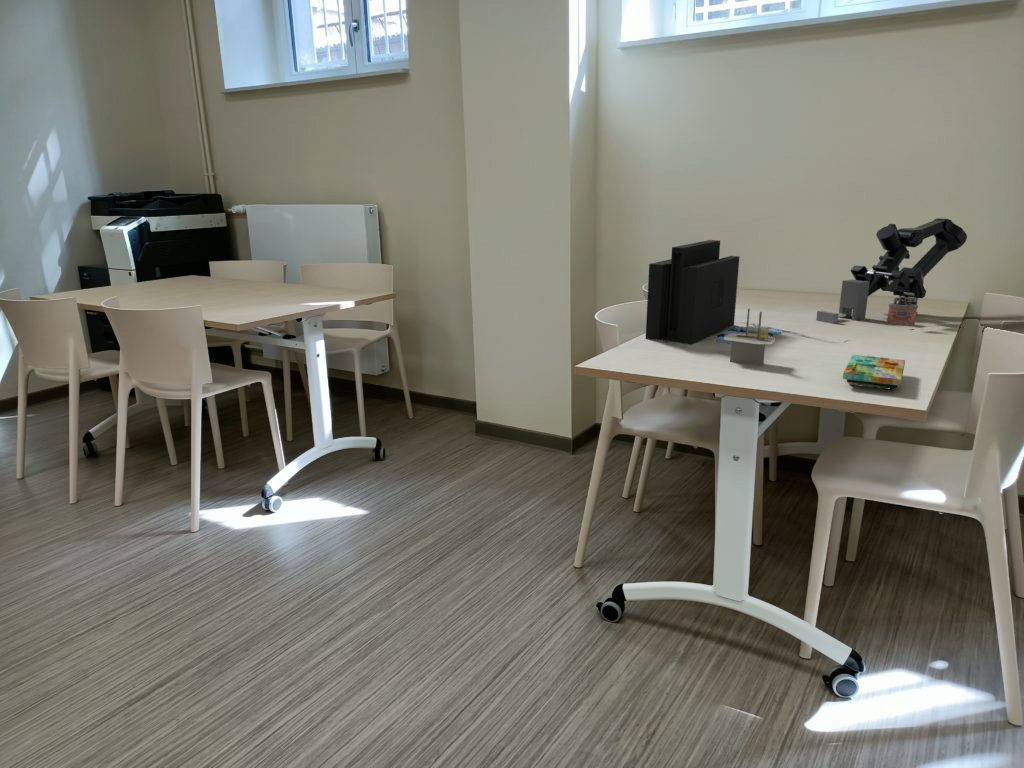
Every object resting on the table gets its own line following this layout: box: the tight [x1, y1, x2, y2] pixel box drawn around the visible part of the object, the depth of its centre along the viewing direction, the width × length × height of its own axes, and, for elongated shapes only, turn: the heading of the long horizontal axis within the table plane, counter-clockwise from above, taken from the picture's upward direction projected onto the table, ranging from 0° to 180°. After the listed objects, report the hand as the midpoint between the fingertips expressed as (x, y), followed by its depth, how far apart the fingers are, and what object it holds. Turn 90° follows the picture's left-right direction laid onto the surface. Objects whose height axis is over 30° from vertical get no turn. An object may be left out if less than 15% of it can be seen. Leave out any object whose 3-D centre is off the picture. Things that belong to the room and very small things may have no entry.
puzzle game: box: [842, 354, 906, 390], centre depth 176 cm, size 12×5×20 cm
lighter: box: [886, 296, 919, 331], centre depth 235 cm, size 8×3×10 cm, turn 62°
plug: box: [838, 279, 870, 321], centre depth 243 cm, size 5×6×12 cm
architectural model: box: [724, 307, 776, 366], centre depth 192 cm, size 21×25×14 cm
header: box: [815, 310, 846, 325], centre depth 240 cm, size 8×6×3 cm
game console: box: [645, 239, 782, 346], centre depth 224 cm, size 35×30×27 cm
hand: (865, 295), depth 246 cm, fingers closed
